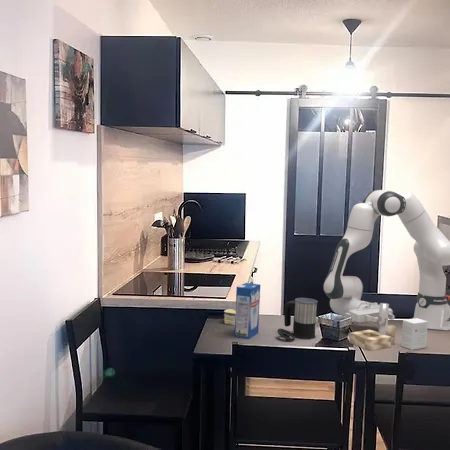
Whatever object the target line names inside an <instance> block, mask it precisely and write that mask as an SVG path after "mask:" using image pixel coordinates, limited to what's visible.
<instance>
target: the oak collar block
mask: <svg viewBox="0 0 450 450" xmlns="http://www.w3.org/2000/svg"><path fill="white" fill-rule="evenodd" d="M349 344H352V345H355V346H357V347H360V348H362V349H365V350H366V351H370V352H371V351H377V350H381V349H387V348H391V346H392V345H391V337H390V336H387V335H384V334H382V333H379V332H378V331H376V330H372V329H366V330H365V329H364V330H359V331H353V332H349Z"/></svg>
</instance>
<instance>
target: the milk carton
mask: <svg viewBox="0 0 450 450" xmlns="http://www.w3.org/2000/svg"><path fill="white" fill-rule="evenodd" d="M235 291H236V292H235V293H236V294H235V296H236V299H235V310H236V314H235V325H234V337H236V338H241V339H247V340H249V339H251V338H253V337H254V336H256V335H257V334H259V323H260V321H259V320H260V305H261V304H260V302H261V300H260V299H261V284H259V283H253V282H252V283H249V282H245V283H242V284H240V285H238V286H236V290H235Z"/></svg>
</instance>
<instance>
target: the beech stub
mask: <svg viewBox="0 0 450 450" xmlns="http://www.w3.org/2000/svg"><path fill="white" fill-rule="evenodd" d="M386 335H387V336H390V337H391V346H392V345H395V342H396V341H395V340H396V339H395V337H396V325H393V324H388V325H387V333H386Z"/></svg>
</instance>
